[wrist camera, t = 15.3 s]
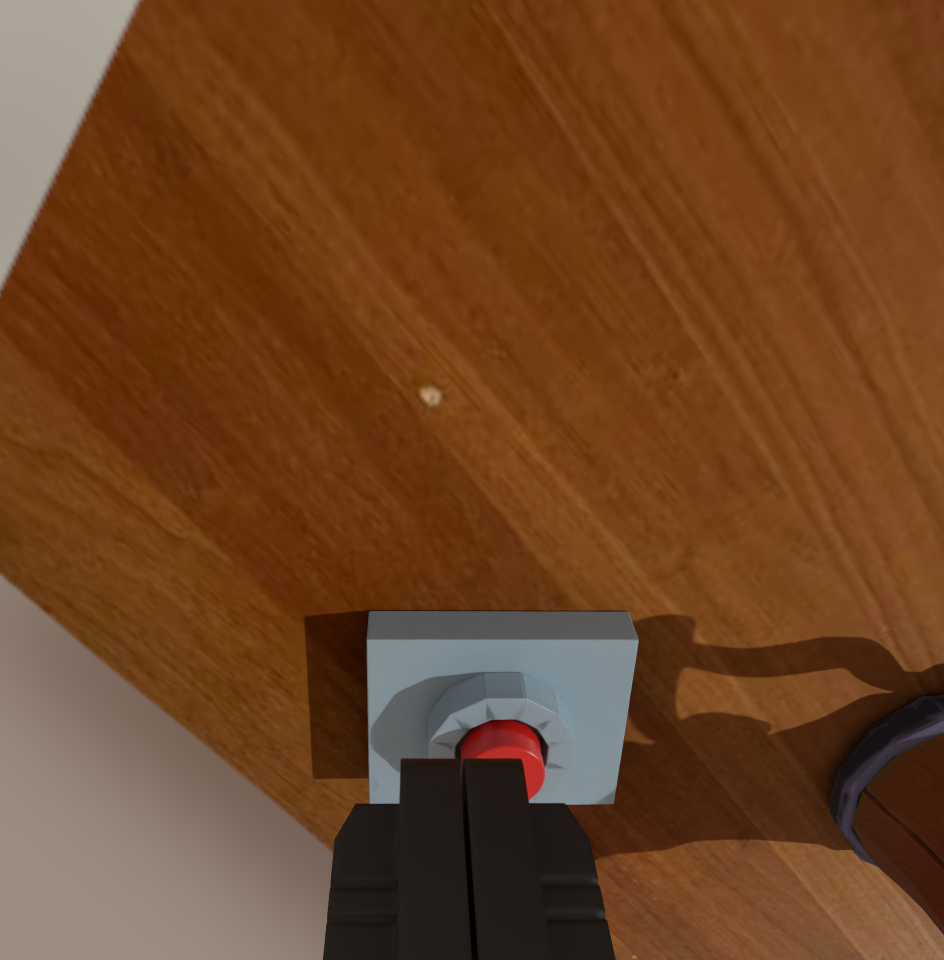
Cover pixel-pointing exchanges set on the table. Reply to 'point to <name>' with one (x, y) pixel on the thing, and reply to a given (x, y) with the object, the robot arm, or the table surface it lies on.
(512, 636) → the button box
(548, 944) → the robot arm
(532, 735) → the button
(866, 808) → the mug
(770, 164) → the table surface
